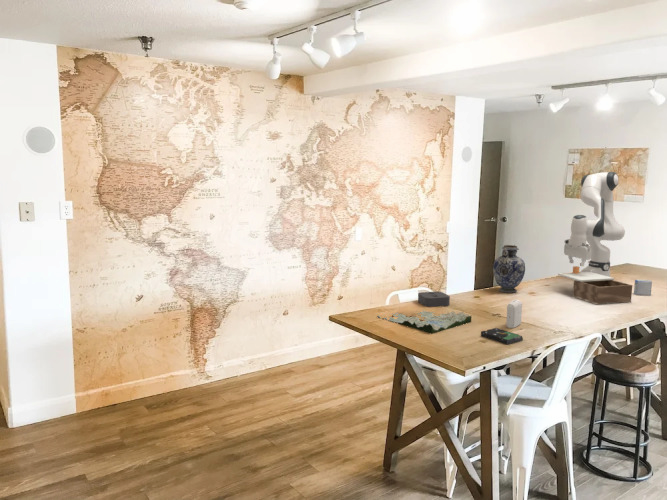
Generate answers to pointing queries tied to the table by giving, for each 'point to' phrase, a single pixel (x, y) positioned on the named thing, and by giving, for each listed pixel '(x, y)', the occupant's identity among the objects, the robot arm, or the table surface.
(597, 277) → the box lid
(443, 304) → the streaming box
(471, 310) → the table surface
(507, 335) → the disk drive
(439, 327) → the topographic map model
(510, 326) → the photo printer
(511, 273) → the decorative vase
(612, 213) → the robot arm
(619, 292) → the wooden box
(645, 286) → the medicine box
